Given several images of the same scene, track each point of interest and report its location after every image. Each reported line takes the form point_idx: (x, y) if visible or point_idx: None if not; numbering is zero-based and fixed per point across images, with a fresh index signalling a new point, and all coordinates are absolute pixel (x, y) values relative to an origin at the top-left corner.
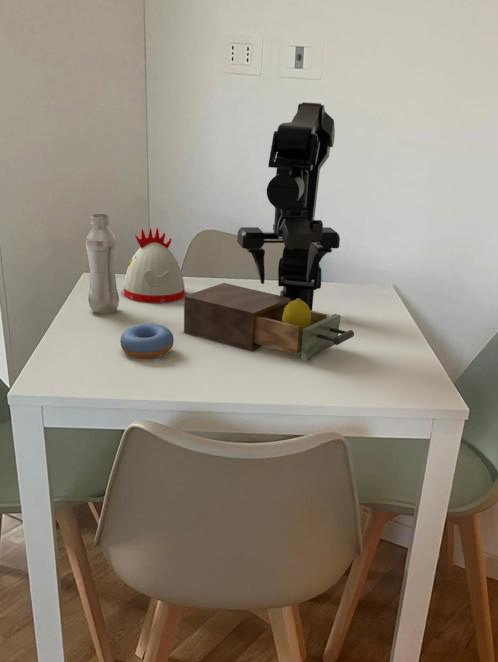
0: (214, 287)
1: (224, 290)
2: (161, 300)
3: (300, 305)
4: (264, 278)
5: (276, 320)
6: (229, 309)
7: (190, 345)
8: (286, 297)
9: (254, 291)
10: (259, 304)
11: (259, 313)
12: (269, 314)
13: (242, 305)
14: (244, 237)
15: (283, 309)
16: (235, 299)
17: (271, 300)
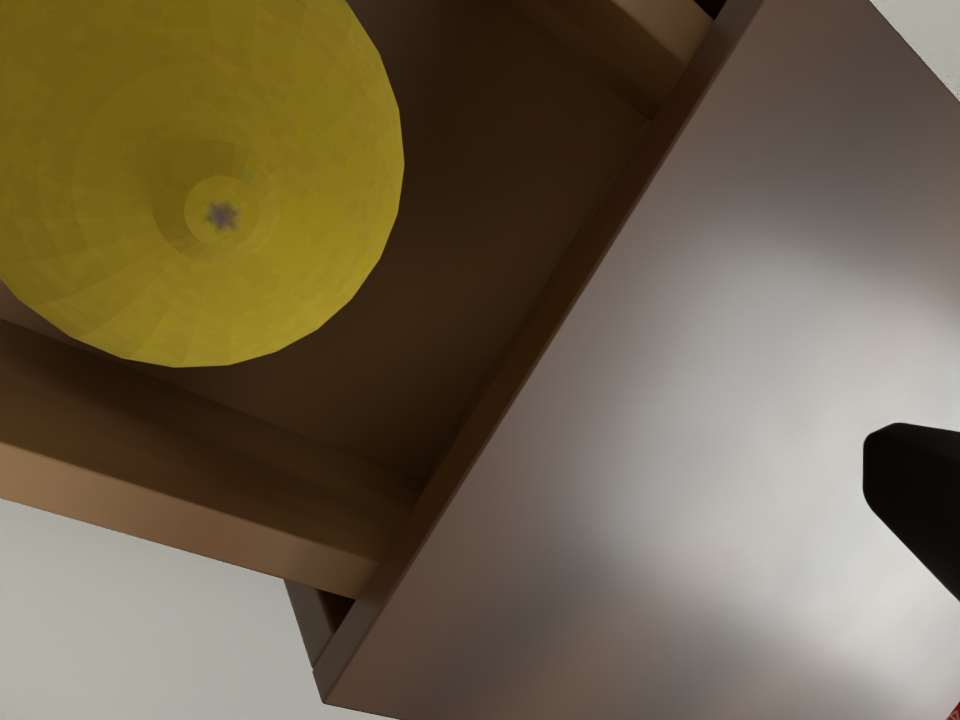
0: (958, 679)
1: (909, 642)
2: (956, 718)
3: (150, 45)
4: (946, 461)
5: (393, 489)
6: None
7: (948, 30)
8: (375, 699)
9: None
10: (693, 327)
11: (700, 57)
12: None
13: (865, 236)
14: None
15: (369, 534)
16: (885, 422)
17: (550, 524)
